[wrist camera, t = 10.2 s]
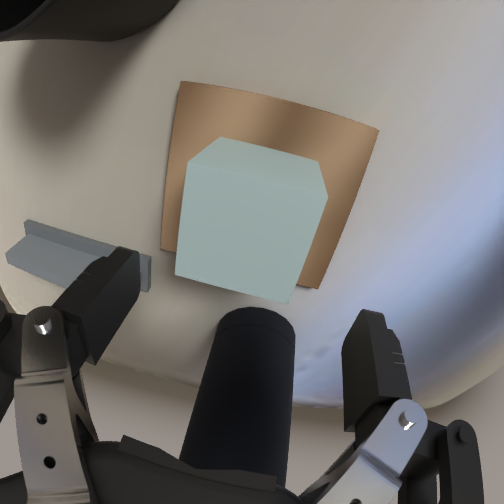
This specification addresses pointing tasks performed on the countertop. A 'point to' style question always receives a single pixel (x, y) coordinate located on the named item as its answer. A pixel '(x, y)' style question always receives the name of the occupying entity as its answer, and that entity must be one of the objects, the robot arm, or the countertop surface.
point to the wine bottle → (245, 397)
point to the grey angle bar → (63, 255)
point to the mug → (78, 18)
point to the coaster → (275, 137)
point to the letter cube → (249, 218)
